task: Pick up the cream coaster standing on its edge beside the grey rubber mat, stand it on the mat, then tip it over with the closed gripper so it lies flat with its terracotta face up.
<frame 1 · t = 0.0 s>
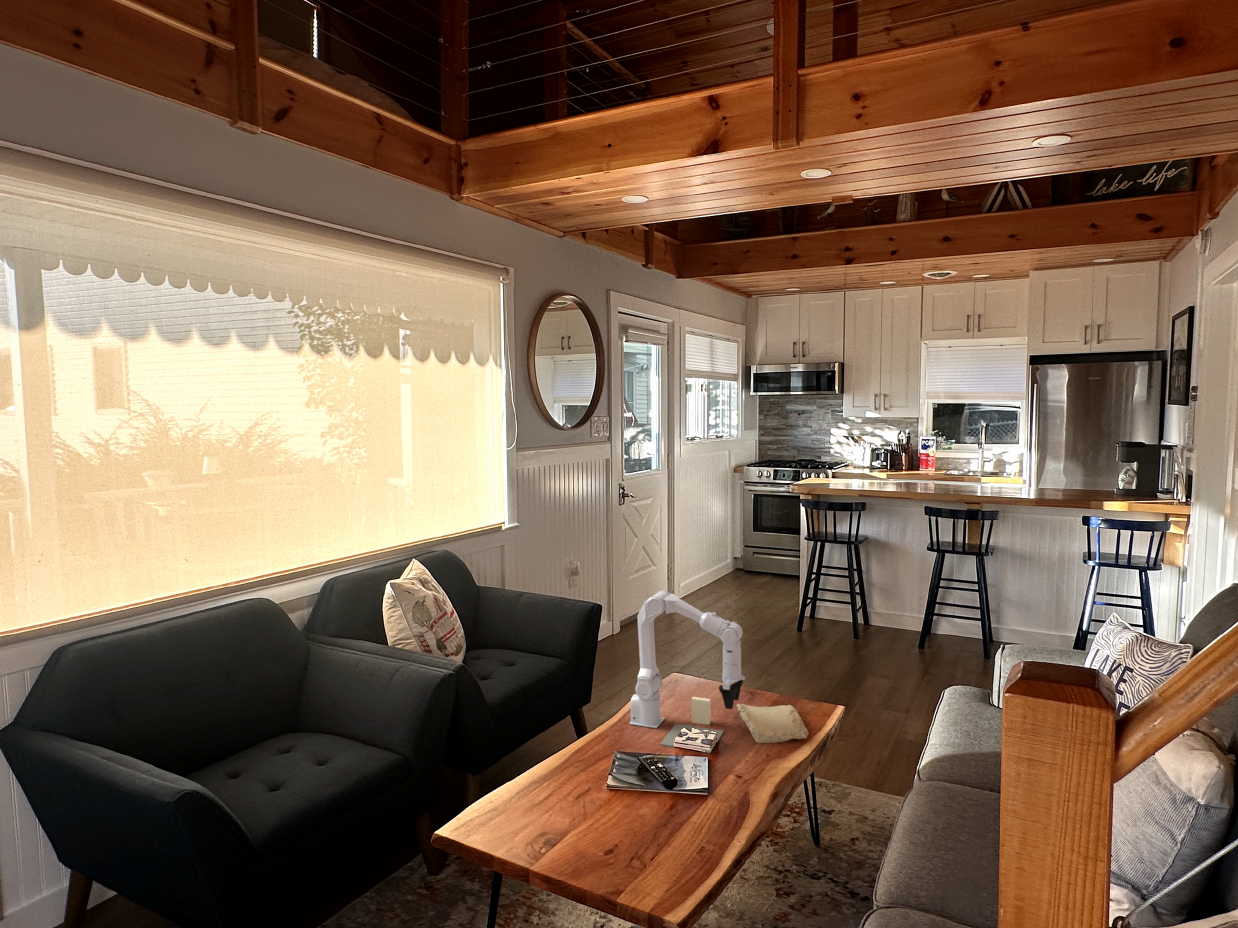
hand: (731, 703, 248), 10 cm above the table, tool pointing down, fingers open, 7 cm apart
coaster: (701, 722, 259), on the table
mat: (692, 738, 246), on the table
small cream pillow: (769, 728, 254), on the table
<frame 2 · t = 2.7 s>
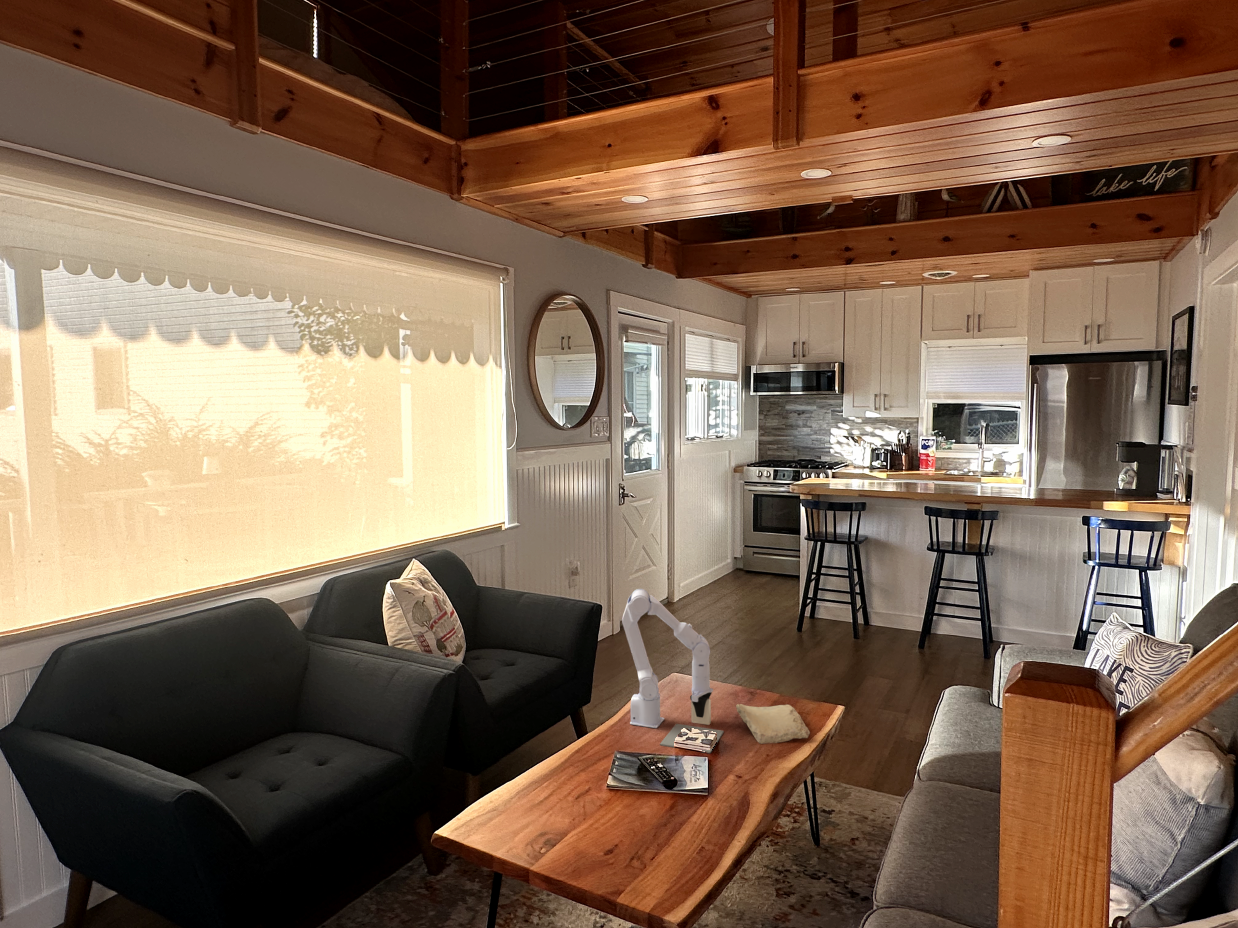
hand: (701, 715, 258), 2 cm above the table, tool pointing down, fingers closed on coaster, 2 cm apart
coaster: (701, 722, 259), on the table, touching gripper
everything else where it was.
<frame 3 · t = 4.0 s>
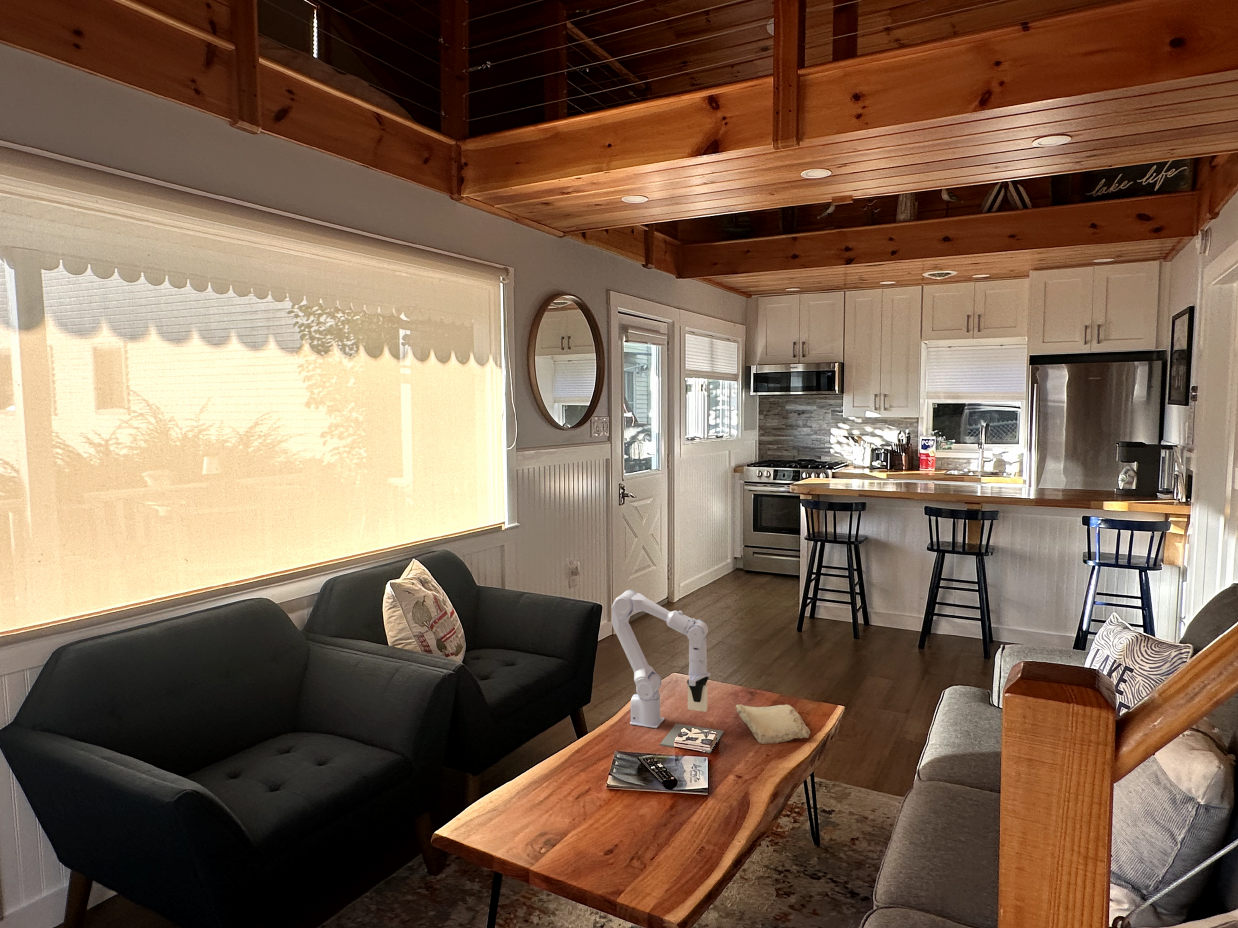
hand: (698, 699, 253), 9 cm above the table, tool pointing down, fingers closed on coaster, 2 cm apart
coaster: (697, 709, 254), point 6 cm above the table, touching gripper
everything else where it was.
when the fingers open (4 cm above the table, at t = 5.5 s): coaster stays where it is, resting on mat.
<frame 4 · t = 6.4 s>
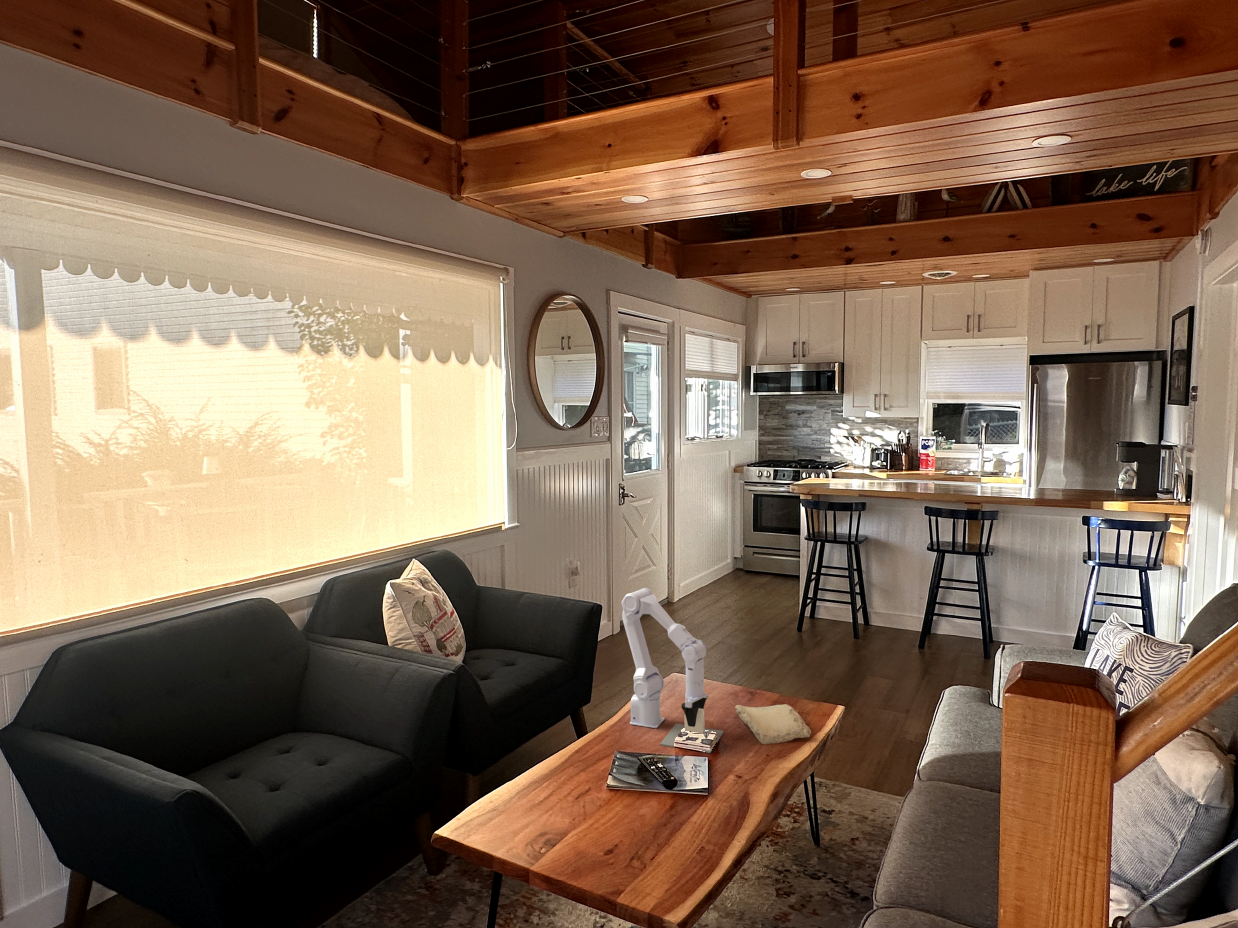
hand: (695, 721, 249), 4 cm above the table, tool pointing down, fingers open, 7 cm apart
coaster: (694, 733, 249), resting on mat
everything else where it was.
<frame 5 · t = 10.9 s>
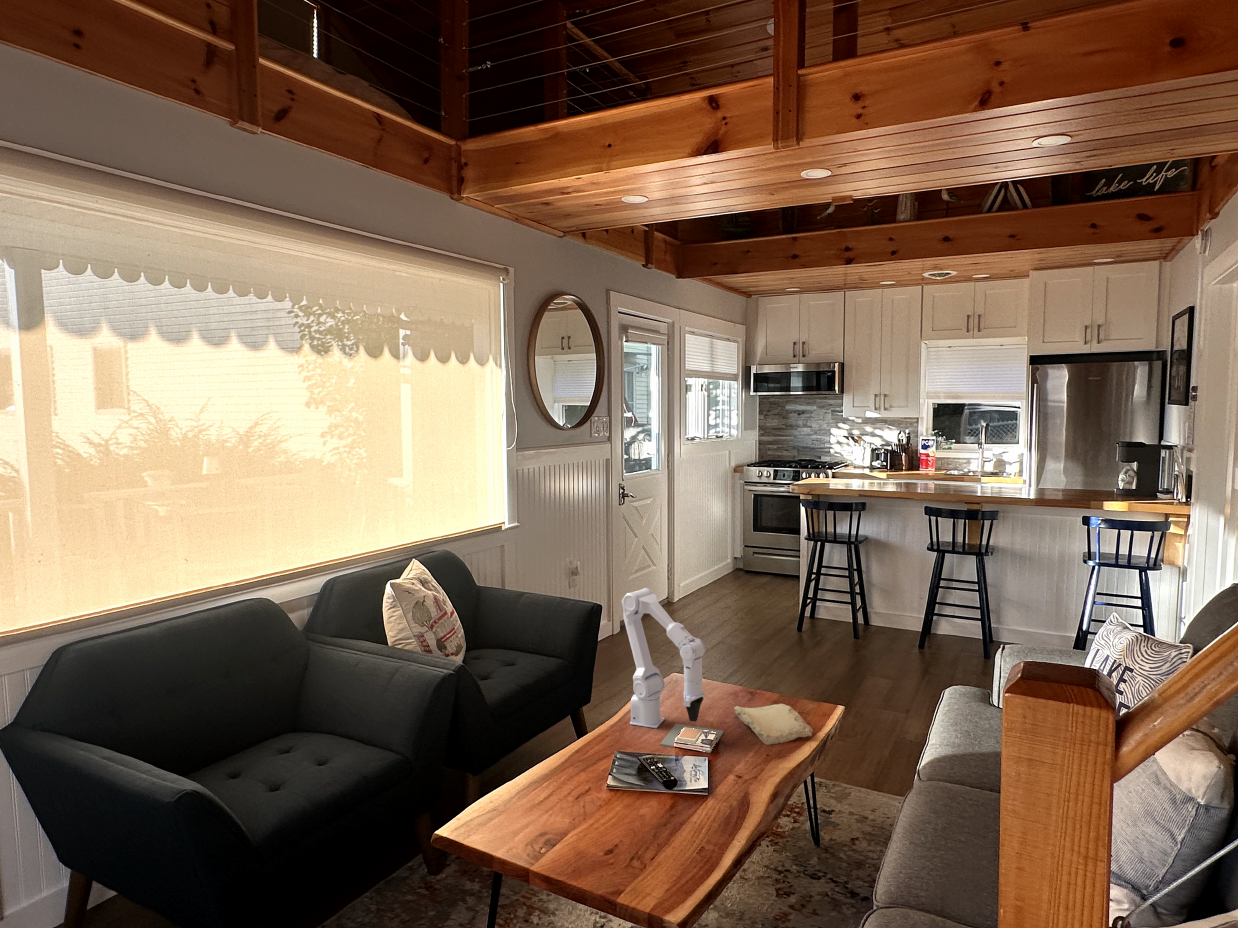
hand: (693, 720, 247), 5 cm above the table, tool pointing down, fingers closed
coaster: (693, 731, 248), point 1 cm above the table, tilted 90°, touching mat
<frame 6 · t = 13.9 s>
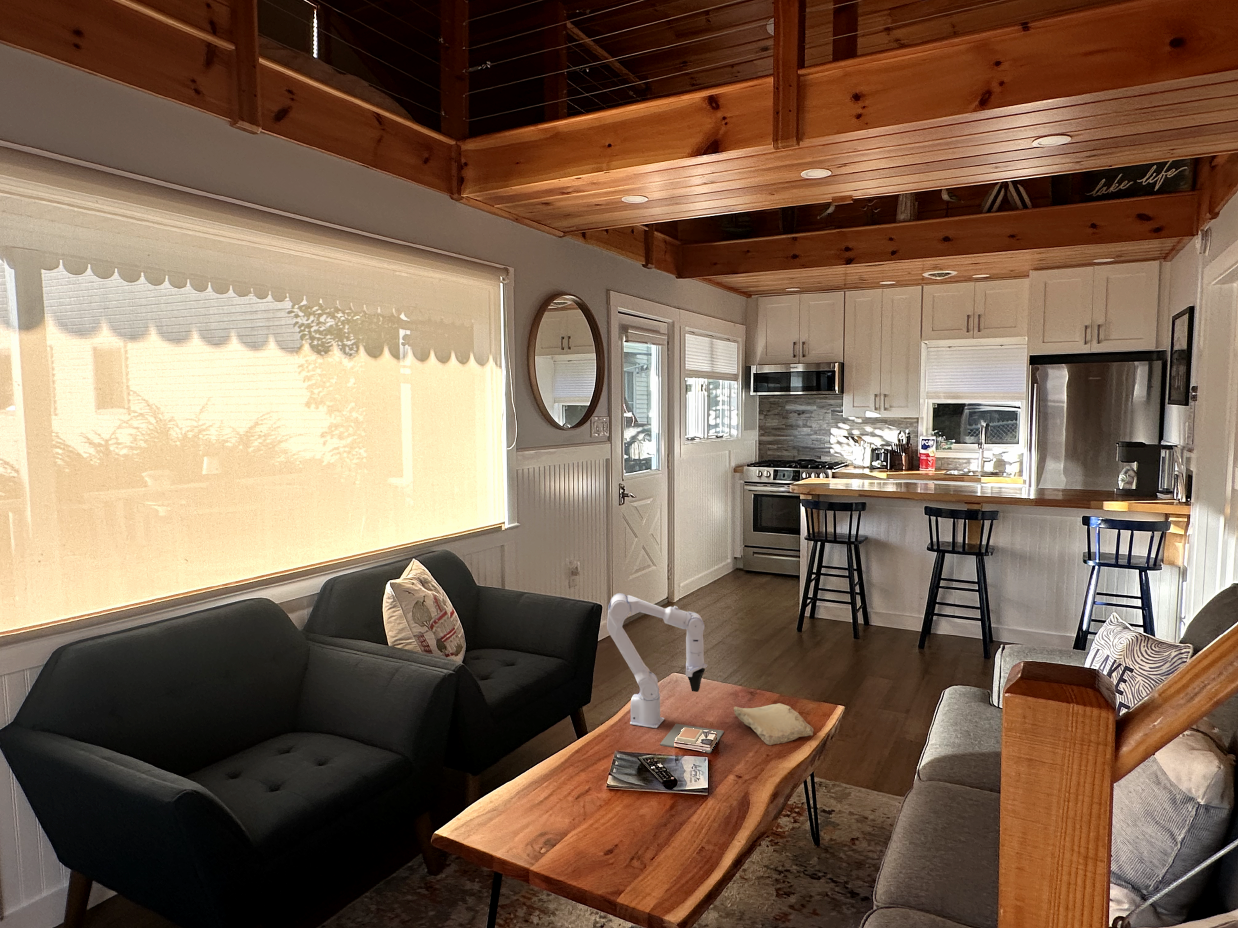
hand: (695, 690, 259), 10 cm above the table, tool pointing down, fingers closed
at the end: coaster tilted 90°; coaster inside the target area (2.1 cm from its centre), point 1.5 cm above the table; the gripper is holding nothing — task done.
